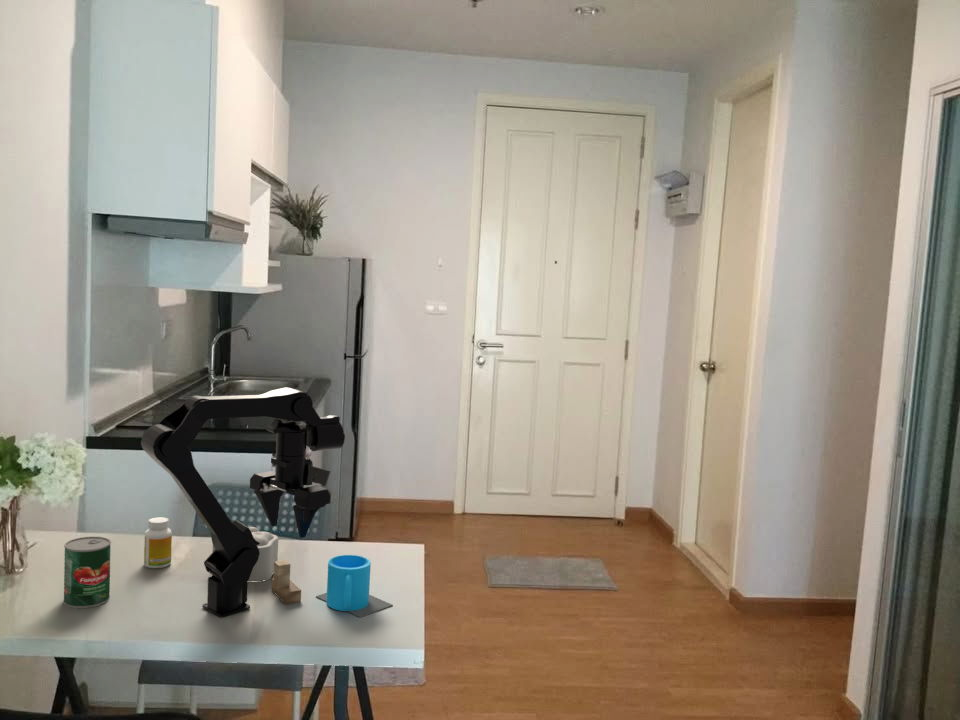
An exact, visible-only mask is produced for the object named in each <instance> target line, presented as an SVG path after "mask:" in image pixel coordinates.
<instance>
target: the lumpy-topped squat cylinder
mask: <svg viewBox="0 0 960 720" xmlns="http://www.w3.org/2000/svg"><path fill="white" fill-rule="evenodd" d="M248 528H249V529H250V531H251V533H252V535H253V537H254V539H255V540H256V541H258V542H259V543H260V544H259V545H257V547H258V548H259V551H260V555H259V558H258V561H257V563H256V564H255V565H254V567H253V570H252V572H251V575H250V578H249V580H248V581H263V580H267V579H269V578H270V577H271V578H272V576H273V574H274V573H273V572H274V562H276V561H279V560H278V557H279V556H278V555H279V554H278V553H279V537H278V535H276V534H273V533H271V532H268V531H260V530H259V529H258V528H257V527H254V526H250V527H249V526H248ZM214 550H215V548H214V545H213V544H212V552H213V551H214ZM272 573H273V574H272ZM271 575H272V576H271ZM271 578H270V579H271ZM270 579H269V580H270ZM267 581H268V580H267ZM263 582H264V581H263Z"/></svg>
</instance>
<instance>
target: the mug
mask: <svg viewBox="0 0 960 720" xmlns="http://www.w3.org/2000/svg"><path fill="white" fill-rule="evenodd" d="M371 564H372V562H371V559H370V558H367V557H365V556H363V555H357V554H342V555H336V556H333V557H331V558H330V559H329V560H328V562H327V578H326V580H327V582H326V583H327V584H326V593H327V600H326V602H325V603H326V605H327V606H328V607H329V608H331V609H333V610H336V611H341V612H342V611H344V612H347V611H354V610H359V609H362V608H365V607H366V606H367V605H368V603H369V595H370V586H371V585H370V584H371V583H370V582H371V568H372V567H371Z"/></svg>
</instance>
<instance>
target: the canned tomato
mask: <svg viewBox="0 0 960 720" xmlns="http://www.w3.org/2000/svg"><path fill="white" fill-rule="evenodd" d="M111 543H112V541H111V540H110V539H109V538H107V537H103V536H82V537H78V538H73V539H70V540H68V541H67V542H65V543H64V560H63V561H64V563H63V564H64V565H63V566H64V567H63V569H64V571H63V573H64V575H63V577H64V578H63V582H64V583H63V604H64V605H65V606H66V607H69V608H73V609H89V608H94V607H98V606H101V605H103V604H105V603H107V602H108V601H109V600H110V597H111V596H110V589H111V588H110V587H111V585H110V584H111Z"/></svg>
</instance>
